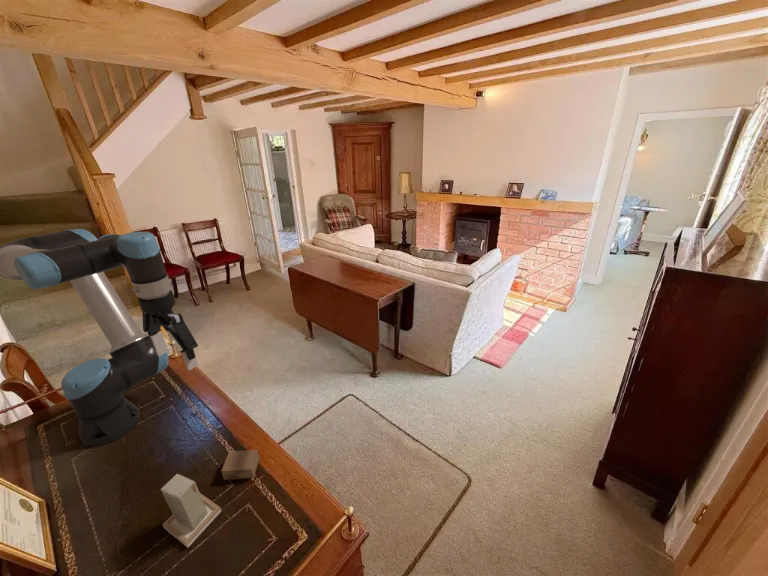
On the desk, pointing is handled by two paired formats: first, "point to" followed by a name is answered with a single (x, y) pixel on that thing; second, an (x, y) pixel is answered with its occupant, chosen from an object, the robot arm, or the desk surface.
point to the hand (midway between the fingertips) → (177, 360)
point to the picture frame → (188, 534)
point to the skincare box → (185, 501)
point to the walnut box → (240, 464)
